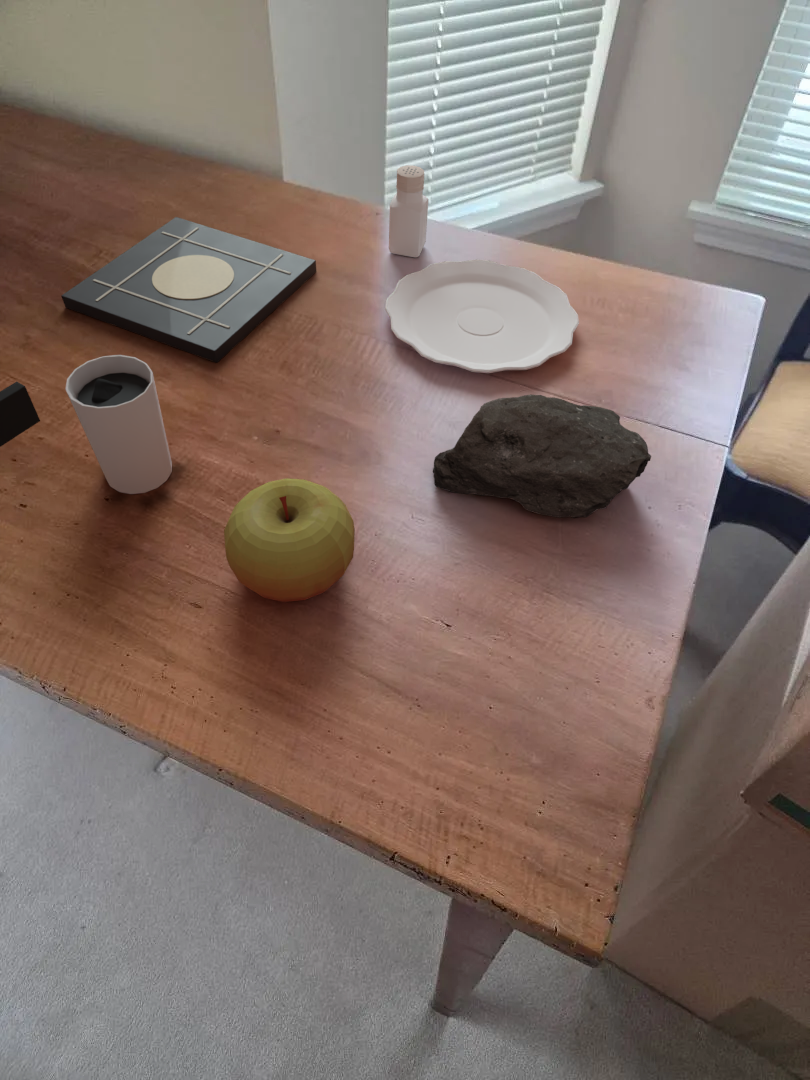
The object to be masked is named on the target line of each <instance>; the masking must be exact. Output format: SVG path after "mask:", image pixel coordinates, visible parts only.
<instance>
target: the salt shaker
mask: <svg viewBox="0 0 810 1080" xmlns="http://www.w3.org/2000/svg"><path fill="white" fill-rule="evenodd" d="M395 187H396V193H395V194H394V195H393V197H392V198H391V200H390V203H389V220H388V222H389V223H388V251H389V253H391V254H394V255H398V256H405V257H411V258H418V257H420V255H421V252H422V251H423V249H424V247H425V244H426V242H427V226H428V215H429V213H428V212H429V198H428V197H427V196H426V195H425V194H423V192H424V188H425V170H424V168H421V167H420V166H417V165H411V164H410V165H409V164H408V165H407V164H406V165H402V166H400V167H398V168H397V169H396V186H395Z"/></svg>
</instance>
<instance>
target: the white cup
mask: <svg viewBox="0 0 810 1080" xmlns="http://www.w3.org/2000/svg"><path fill="white" fill-rule="evenodd" d="M157 391H158V390H157V386H156V381H155V377H154V371H153V370H152V369H151V367H150V366H149V365H148V363H147V362H145V361H143V360H141V359H139V358H137V357H135V356H129V355H124V354H111V355H103V356H100V357H96V358H93V359H90V360H87V361H85V362H84V363H83V364H80V365H79V366H77V367H76V368H74V370H73V371H72V372H71V373H70V374H69V376H68V377H67V378H66V383H65V392H66V394H67V396H68V399H69V400H70V403H71V405H72V408H73V409H74V411H75V414H76V416H77V418H78V420H79V422H80V425H81V427H82V429H83V431H84V434H85V435H86V438H87V440H88V442H89V445H90V446H91V449H92V451H93V454H94V456H95V458H96V461H97V462H98V465H99V467H100V469H101V472H103V475H104V478H105V480H106V481H107V483H108V485H109V487H110V488H112V489H114V490H115V491H117V492H118V493H123V494H128V495H137V494H146V493H148V492H150V491H153V490H156V489H158V488H159V487H160V486H162V485H163V484H164V483H166V482H167V481H168V479H169V477H170V476H171V474H172V472H173V461H172V457H171V452H170V448H169V442H168V437H167V433H166V429H165V423H164V420H163V414H162V410H161V409H162V408H161V405H160V400H159V396H158V392H157Z"/></svg>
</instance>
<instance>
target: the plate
mask: <svg viewBox="0 0 810 1080" xmlns="http://www.w3.org/2000/svg"><path fill="white" fill-rule="evenodd" d="M384 306H385V307H384V310H385V311H386V314H387V315H388V317H389V319H390V329H391V330H390V331H391V332H392V333H393V334H394V335H395V337H396V338H397V339H398V340H400V341H401V342H403V343H405V344H407V345H409V346H410V347H412V348H413V349H414V351H416V352H417V353H418V354H419V355H420V356H421V357H422V358H425V359H426V360H429V361H432V362H433V363H434V364H435V363H436V364H441V365H447V366H454V367H456V368H460V369H463V370H466V371H469V372H471V373H480V374H481V373H482V374H492V373H498V372H502V371H503V372H504V371H527V370H530V369H534V368H537V367H540V366H541V365H543V364H544V363H545V362H547V361H548V360H550V358H553V357H556V356H558V355H560V354H564V353H565V352H566V351H567V350H568V349H569V348H570V347H571V346H572V344H573V339H574V333H575V331H576V330H577V328H578V327H579V325H580V320H579V314H578V312H577V311H576V310H575V308H574V307H573V306H572V305H571V303H570V299H569V297H568V294H567V293H566V292H564V291H563V289H561V287H559V286H558V285H555V284H553V283H551V282H549V281H547V280H545V279H543V277H542V276H540V275H539V274H537V273H536V272H534V271H533V270H532V271H531V270H529V269H527V268H524V267H520V266H515V265H508V264H503V263H500V262H496V261H494V260H490V259H487V260H486V259H478V258H477V259H469V260H461V261H452V260H451V261H447V260H445V261H440V262H436V263H431V264H429V265H427V266H426V267H424V268H422V269H420V270H418V271H415V272H412V273H409V274H406V275H405V276H403V277H402V278H401V279H399V280H397V283H396V286H395V288H394V291H393V292H392V293H390V294H389V296H387V298H386V300H385V305H384Z"/></svg>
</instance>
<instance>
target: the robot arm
mask: <svg viewBox="0 0 810 1080" xmlns="http://www.w3.org/2000/svg"><path fill="white" fill-rule="evenodd" d="M40 422H41V419H40V416H39V415H38V412H37V410H36V408H35V406H34V403H33V401H32V398H31V396H30V394H29V391H28V390H27V387H26V386H25V385H24V384H22V383H20V382H19V381H15V382H13V383H12V384H10V385H8V386H7V387H5V388H4V389H2V390H0V448H1V447H3V446H4V445H6V444H7V443H8V442H10V441H12V440H14V439H15V438H16V437H18V436H19V435H21V434H23V433H25V432H26V431H27V430H29V429H30V428H32V427H33V426H35V425H37V424H38V423H40Z"/></svg>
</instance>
